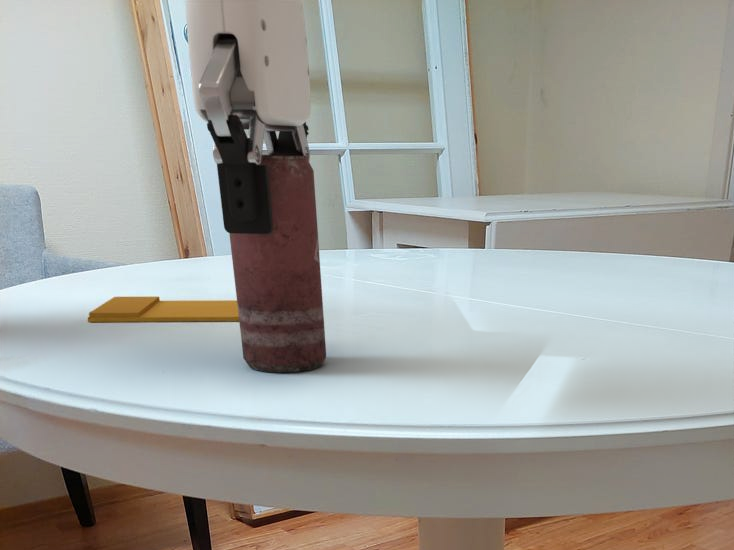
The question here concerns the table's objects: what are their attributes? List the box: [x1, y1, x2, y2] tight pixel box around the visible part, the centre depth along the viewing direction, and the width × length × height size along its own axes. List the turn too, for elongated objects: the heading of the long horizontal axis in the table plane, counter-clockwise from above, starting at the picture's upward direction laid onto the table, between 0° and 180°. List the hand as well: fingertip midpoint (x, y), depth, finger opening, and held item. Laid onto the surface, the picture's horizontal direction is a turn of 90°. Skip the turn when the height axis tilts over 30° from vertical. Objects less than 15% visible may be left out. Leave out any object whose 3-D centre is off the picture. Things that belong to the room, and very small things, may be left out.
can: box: [228, 154, 327, 374], centre depth 63 cm, size 6×6×14 cm
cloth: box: [87, 296, 239, 323], centre depth 87 cm, size 20×10×1 cm, turn 97°
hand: (271, 226), depth 62 cm, fingers open, 8 cm apart
